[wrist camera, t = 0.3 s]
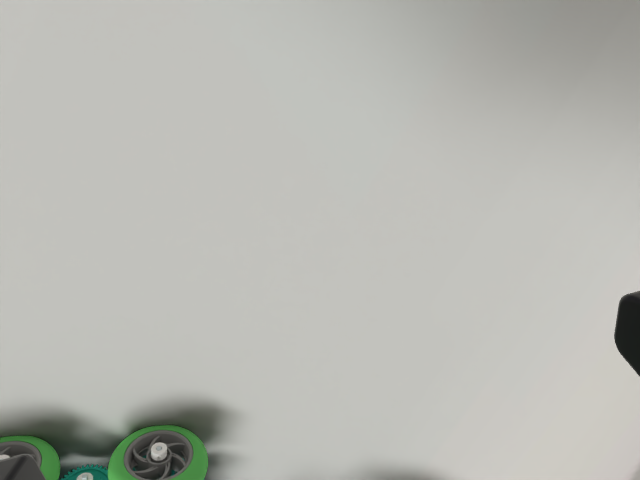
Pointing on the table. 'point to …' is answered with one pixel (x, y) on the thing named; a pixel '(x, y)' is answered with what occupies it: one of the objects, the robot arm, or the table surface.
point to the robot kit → (125, 456)
